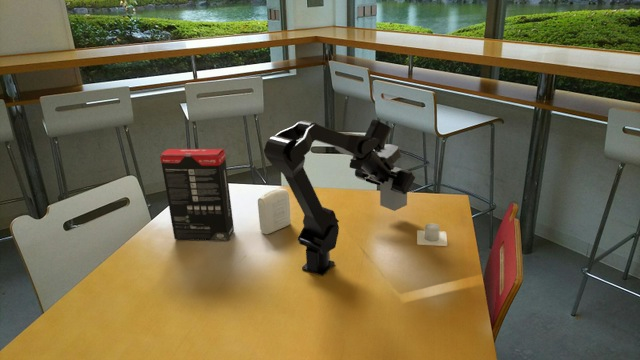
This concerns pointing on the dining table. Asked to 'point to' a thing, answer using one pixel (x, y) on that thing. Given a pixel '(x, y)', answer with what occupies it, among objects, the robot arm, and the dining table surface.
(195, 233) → the graphics card box
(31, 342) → the dining table surface
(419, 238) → the base
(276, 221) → the photo printer
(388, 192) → the tall grey box
